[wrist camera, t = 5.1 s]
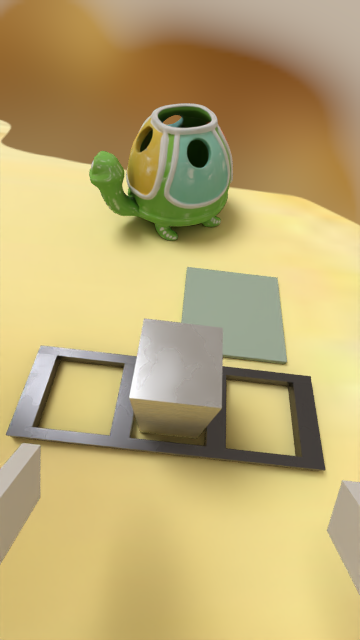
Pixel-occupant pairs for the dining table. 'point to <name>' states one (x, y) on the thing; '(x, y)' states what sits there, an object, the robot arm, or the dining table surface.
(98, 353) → the dark brown flat frame
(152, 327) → the gray rectangular brick
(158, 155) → the turtle holder
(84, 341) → the dining table surface
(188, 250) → the dining table surface
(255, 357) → the mat
